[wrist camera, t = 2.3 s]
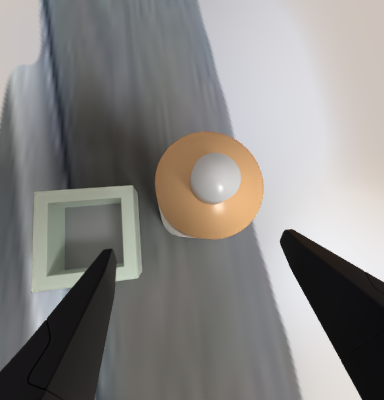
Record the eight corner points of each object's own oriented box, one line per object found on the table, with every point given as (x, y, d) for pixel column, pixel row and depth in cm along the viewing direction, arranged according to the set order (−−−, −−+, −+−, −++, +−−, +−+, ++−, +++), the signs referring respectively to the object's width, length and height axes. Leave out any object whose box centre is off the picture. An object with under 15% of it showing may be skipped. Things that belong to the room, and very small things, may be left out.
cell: (203, 234, 20) (285, 232, 6) (163, 238, 19) (158, 246, 6) (198, 195, 20) (264, 118, 7) (160, 198, 20) (149, 120, 6)
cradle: (142, 271, 18) (137, 278, 15) (54, 282, 17) (31, 292, 14) (137, 192, 19) (132, 185, 17) (55, 198, 18) (34, 191, 15)
